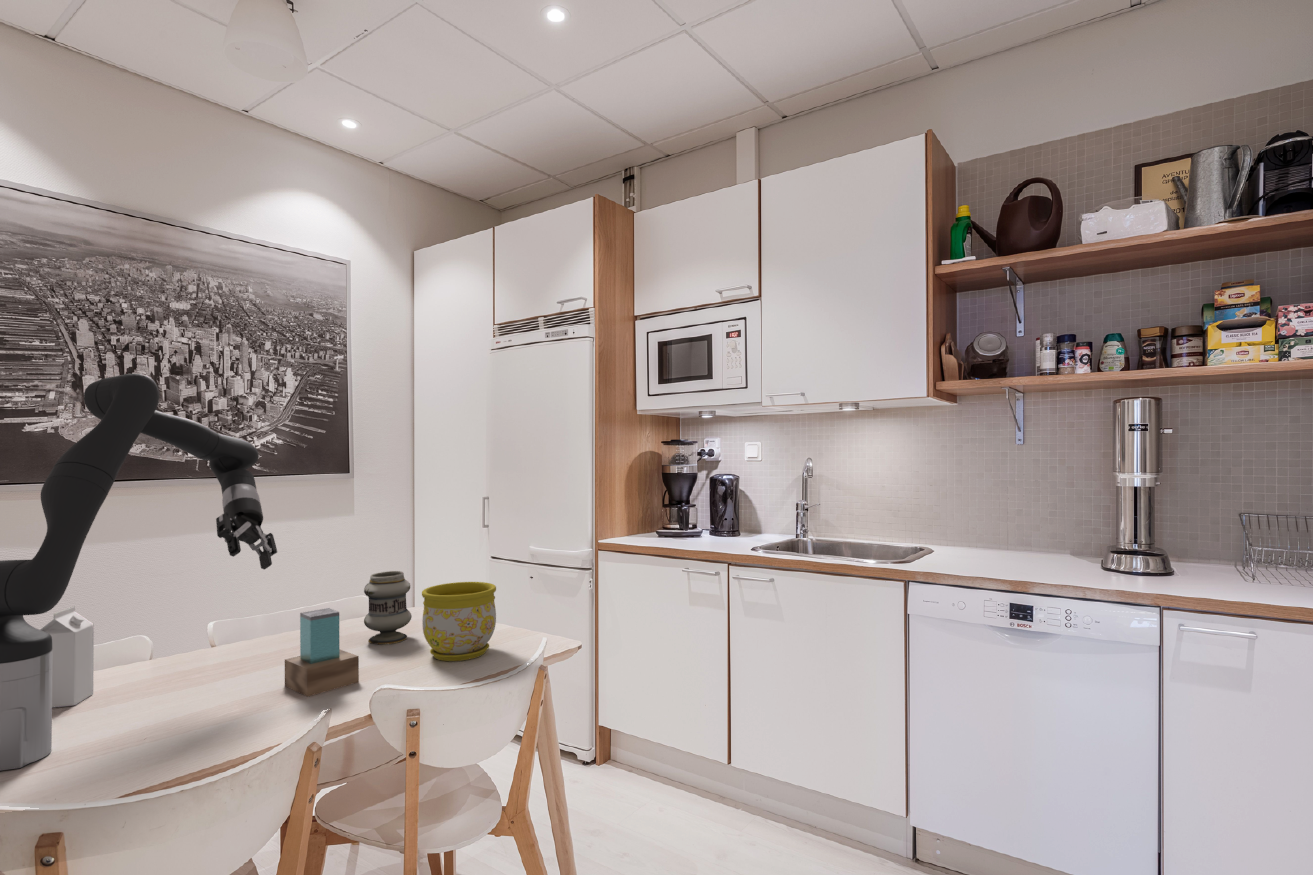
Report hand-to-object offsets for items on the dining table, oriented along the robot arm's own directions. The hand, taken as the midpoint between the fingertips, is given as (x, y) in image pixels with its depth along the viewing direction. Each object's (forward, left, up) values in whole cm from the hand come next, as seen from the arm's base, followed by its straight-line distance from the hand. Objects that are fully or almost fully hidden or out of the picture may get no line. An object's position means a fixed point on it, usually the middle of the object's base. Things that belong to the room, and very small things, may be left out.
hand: (251, 560), depth 146 cm
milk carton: (+3, +35, -28) cm, 44 cm away
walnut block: (-4, -15, -28) cm, 32 cm away
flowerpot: (+7, -44, -28) cm, 53 cm away
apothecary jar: (+28, -26, -28) cm, 47 cm away
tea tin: (-4, -14, -22) cm, 26 cm away
